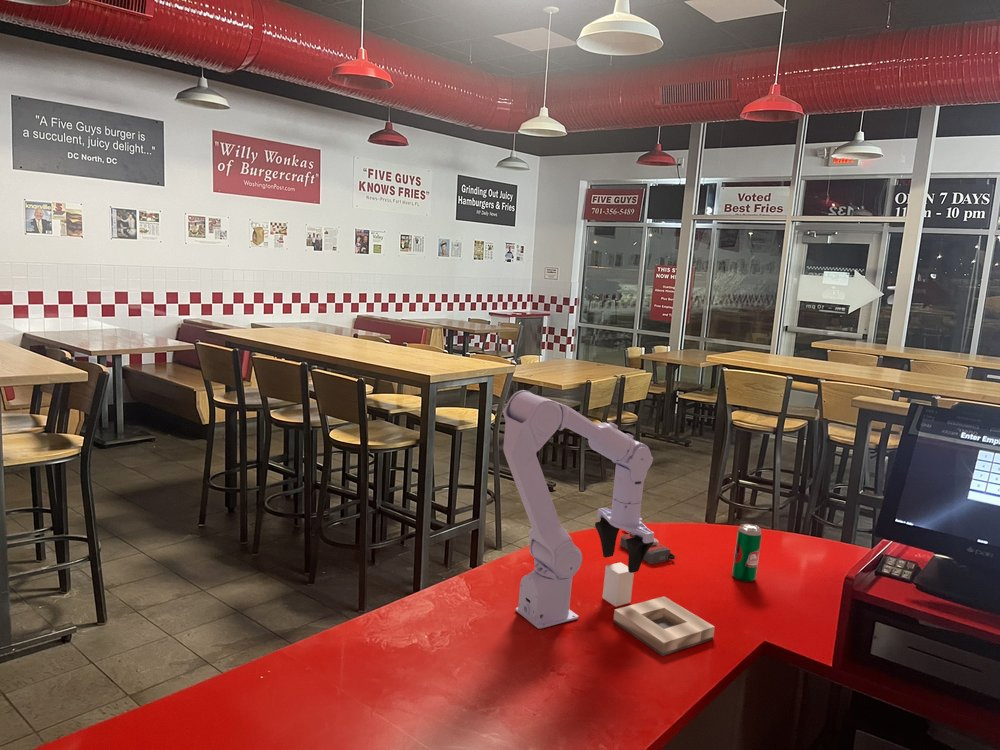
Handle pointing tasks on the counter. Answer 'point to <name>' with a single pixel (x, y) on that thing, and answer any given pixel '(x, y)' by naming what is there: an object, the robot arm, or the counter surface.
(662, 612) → the holder block
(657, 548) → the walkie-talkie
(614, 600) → the white rectangular block
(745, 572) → the soda can
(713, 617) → the counter surface
